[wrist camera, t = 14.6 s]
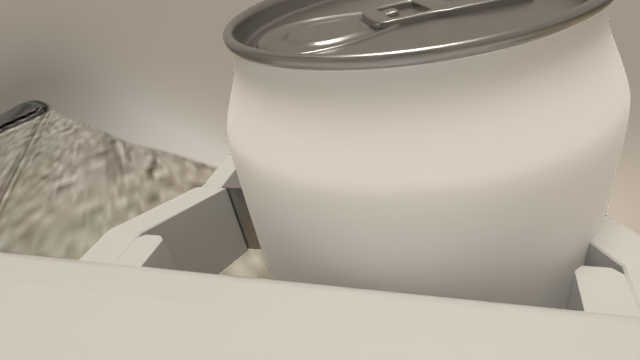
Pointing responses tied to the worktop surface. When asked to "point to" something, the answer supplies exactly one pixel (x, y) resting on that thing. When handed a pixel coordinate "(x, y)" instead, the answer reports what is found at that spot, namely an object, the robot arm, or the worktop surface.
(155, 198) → the worktop surface
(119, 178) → the worktop surface
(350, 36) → the can
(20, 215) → the worktop surface
